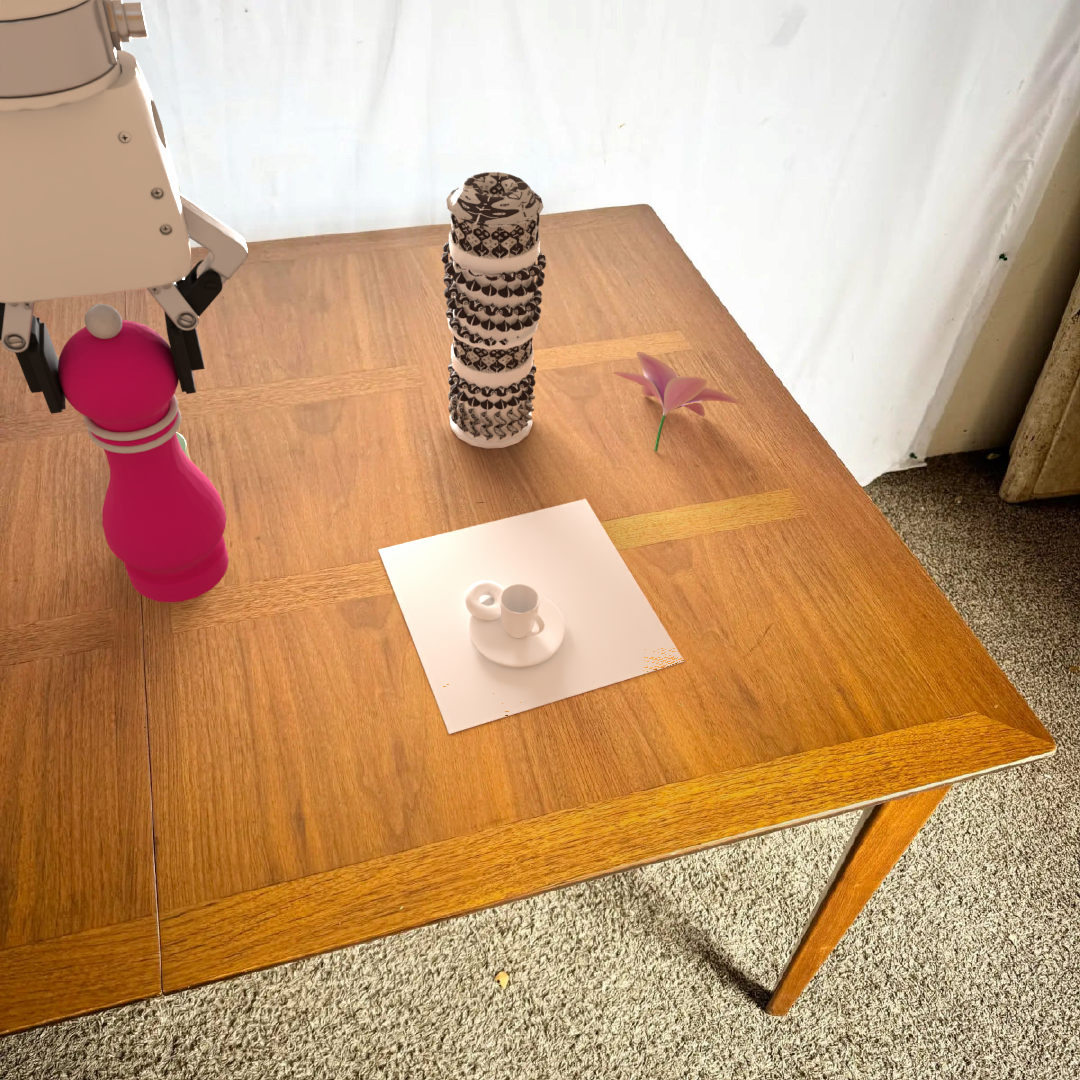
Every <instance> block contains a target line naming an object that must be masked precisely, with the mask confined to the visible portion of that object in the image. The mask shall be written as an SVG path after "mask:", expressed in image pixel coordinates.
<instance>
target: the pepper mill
mask: <svg viewBox="0 0 1080 1080" xmlns="http://www.w3.org/2000/svg"><path fill="white" fill-rule="evenodd" d="M84 325H85V327H82V328H81V329H79V330H78V331H76V332H75V333H74V334H73V335H71V337H70V338H68V340H67V341H66V343H65V344H64V345H63V348H62V350H61V353H60V355H59V357H58V360H59V362H58V377H59V382H60V385H61V388H62V391H63V393H64V395H65V400H66V401H68V403H69V404H70V406H71V407H72V408H73V409H74V410H75V411H77V412H78V413H79V414H81V415H82V419H83V422H84V425H85V426H86V428H87V434H88V437H89V438H90V440H91V441H92V442H93V443H94V444H95V446H97V447H99V448H101V449H102V450H103V451H104V453H105V455H106V459H107V463H108V467H109V482H108V485H107V490H106V491H105V497H104V500H103V506H102V514H101V517H102V518H101V524H102V529H103V533H104V537H105V540H106V544H107V545H108V548H109V549H110V551H111V552H112V553H113V554H114V556H115V557H116V558H117V559H119V560H120V561H121V562H122V563H123V564H124V567H125V570H126V573H127V576H128V579H129V581H130V583H131V585H132V587H133V588H134V590H135V591H136V592H137V593H139V594H140V595H141V596H143V597H145V598H147V599H148V600H151V601H155V602H158V603H173V604H174V603H181V602H186V601H189V600H193V599H197V598H199V597H201V596H202V595H205V594H206V593H208V592H210V591H211V590H213V589H214V588H215V587H216V586H217V585H218V584H219V583H220V582H221V581H222V579H223V578H224V576H225V575H226V573H227V571H228V567H229V561H230V560H229V559H230V558H229V553H228V549H227V545H226V540H225V538H224V533H225V530H226V524H227V513H226V508H225V506H224V504H223V501H222V498H221V496H220V493H219V491H218V490H217V488H216V487H215V485H214V484H213V482H211V480H210V478H208V476H207V475H206V474H205V473H204V472H203V471H202V470H201V469H200V468H199V467H198V466H197V465H196V464H195V463H194V462H193V461H192V459H191V460H190V459H189V458H188V457H187V456H186V454H185V453H184V451H183V450H182V448H181V446H180V443H179V440H178V438H177V435H176V432H177V433H178V431H179V429H180V427H181V424H182V413H181V410H180V408H179V401H178V398H177V396H176V395H175V394H176V391H177V389H178V386H179V378H178V374H177V371H176V367H175V363H174V359H173V355H172V351H171V347H170V344H169V342H167V341H166V339H165V338H164V337H163V336H161V334H159V332H157V331H156V330H154V329H152V328H151V327H149V326H148V325H145V324H143V323H140V322H137V321H133V320H126V319H123V317H122V316H121V314H120V312H119V311H118V310H117V309H116V308H115V307H113V306H112V305H109V304H105V303H96V304H94V305H92V306H91V307H89V308H88V309H87V310H86V313H85V315H84Z"/></svg>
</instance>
